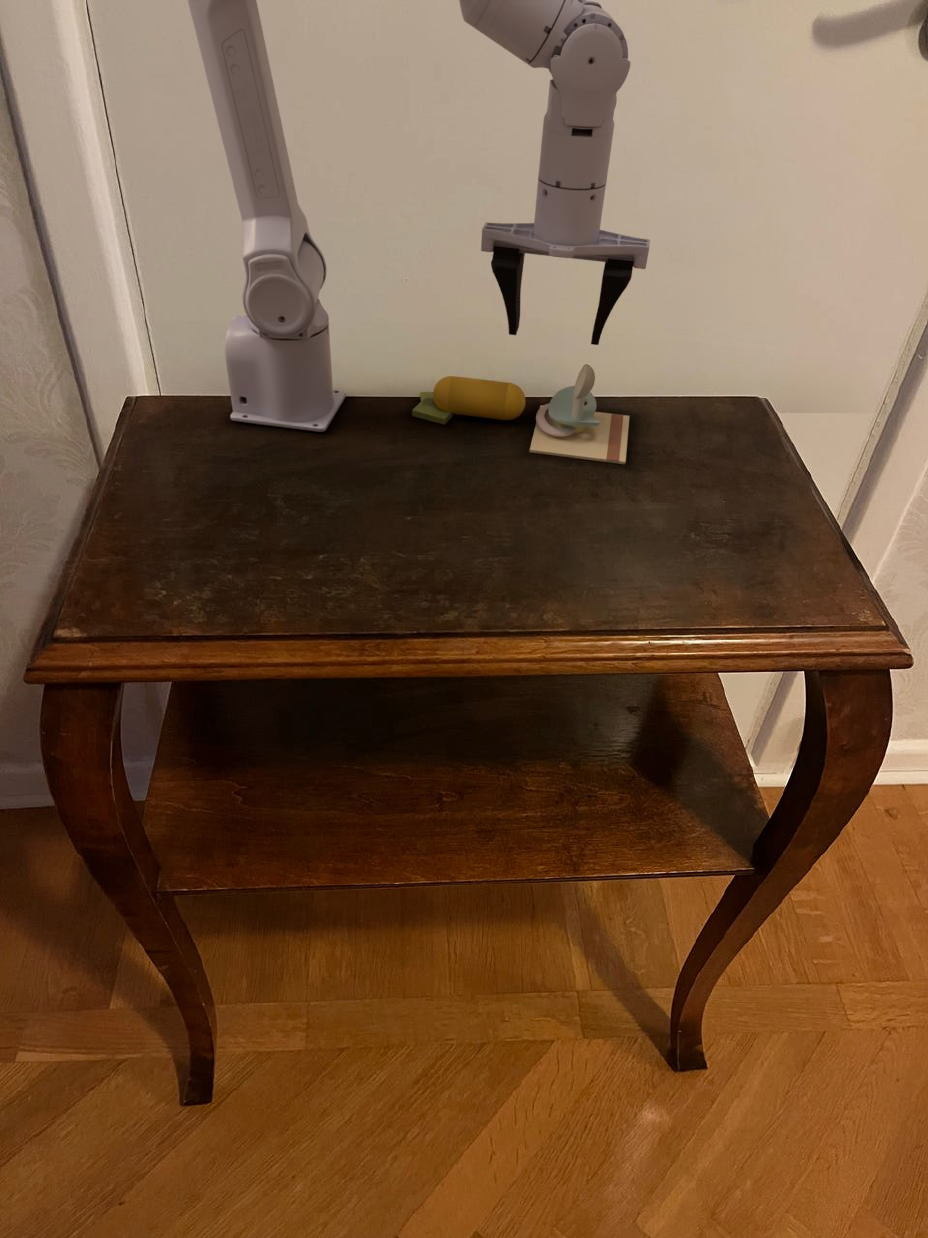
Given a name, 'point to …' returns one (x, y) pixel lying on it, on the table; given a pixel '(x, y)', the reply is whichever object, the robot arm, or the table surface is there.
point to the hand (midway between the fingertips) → (554, 335)
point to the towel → (587, 440)
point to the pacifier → (571, 407)
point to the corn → (470, 400)
